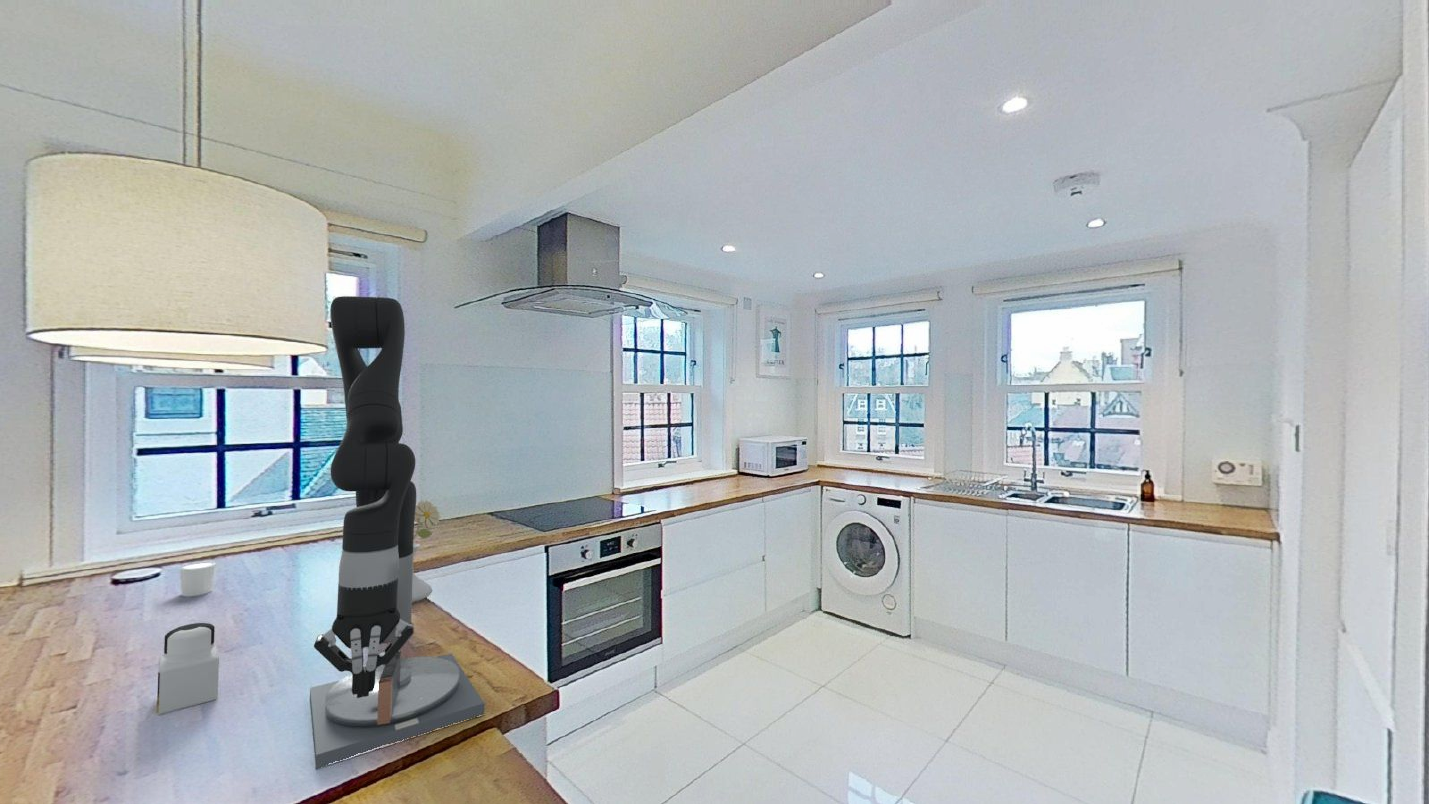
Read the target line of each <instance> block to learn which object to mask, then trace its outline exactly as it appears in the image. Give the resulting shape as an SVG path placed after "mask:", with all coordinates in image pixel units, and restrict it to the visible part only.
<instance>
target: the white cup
mask: <svg viewBox="0 0 1429 804" xmlns="http://www.w3.org/2000/svg"><path fill="white" fill-rule="evenodd" d="M216 566H217V563H216V562H212V561H208V562H205V561H204V562H197V563H190V564H187V565H183V566H180V568H179V580H180V589H181V590H180V591H181V596H182V597H197V596H202V595H205V594H208V593H211V592H212V591H213V586H214V580H215V572H216Z"/></svg>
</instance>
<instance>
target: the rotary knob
mask: <svg viewBox="0 0 1429 804" xmlns="http://www.w3.org/2000/svg"><path fill="white" fill-rule="evenodd" d="M401 652H402V651H401V650H399V651H398V652H397V653H396V655H395V656H394V657H393V658H392V659H391V661H390V662H389V663H388V664H386V665H381V666H379V667H377V668H376V673H375V687H374V689H373V691H371V692H369V696H366V697H361V698H357V694H355V695H353V693H352V676H353V675H352V673H351V674H349V675H347V676H346V677H344V678H342V679H340V680H341V681H340V680H338V681H339V682H338V683H337V684H335V685H334V686H333V687H332V688H331V689H330V690H329V692H328V693H327V695H326V699H325V713H326V715H327V716H328V718H329V719H331V720H332V721H334V722H337V723H340V724H343V725H350V726H371V725H381V724H386V723H391V722H396V721H400V720H403V719H407V718H410V717H413V716H416V715H418V714H421V713H423V712H426V711H428V710H430V709H432V708H434V707H436V706H437V705H439V704H441V703H442V702H444V701H445V700H446V699H448V698H449V697H450V696H451V695H452V694H453V693H454V692H455V690H456V689H457V687H458V684H459V669H458V667H457V666H456V664H454V663H453V662H451V661H449V660H446V659H442V658H436V657H437V656H413V657H403V658H402V655H401V654H402V653H401Z"/></svg>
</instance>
